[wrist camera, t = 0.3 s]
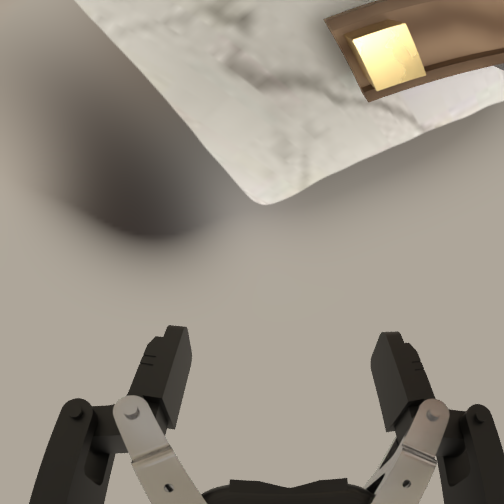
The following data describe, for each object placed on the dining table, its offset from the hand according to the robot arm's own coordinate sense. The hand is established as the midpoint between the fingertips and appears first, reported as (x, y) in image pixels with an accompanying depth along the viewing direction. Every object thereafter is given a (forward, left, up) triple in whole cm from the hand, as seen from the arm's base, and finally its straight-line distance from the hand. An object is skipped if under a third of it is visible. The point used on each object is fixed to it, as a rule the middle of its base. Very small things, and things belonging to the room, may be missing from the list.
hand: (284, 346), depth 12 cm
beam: (-4, +26, -21) cm, 34 cm away
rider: (-4, +11, -21) cm, 24 cm away
